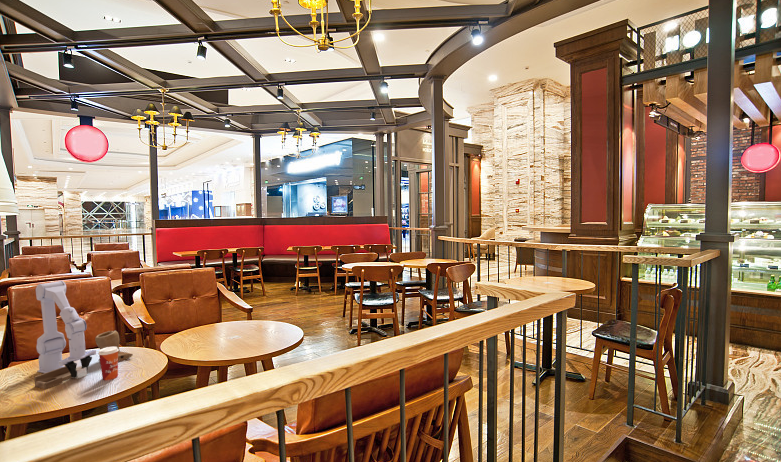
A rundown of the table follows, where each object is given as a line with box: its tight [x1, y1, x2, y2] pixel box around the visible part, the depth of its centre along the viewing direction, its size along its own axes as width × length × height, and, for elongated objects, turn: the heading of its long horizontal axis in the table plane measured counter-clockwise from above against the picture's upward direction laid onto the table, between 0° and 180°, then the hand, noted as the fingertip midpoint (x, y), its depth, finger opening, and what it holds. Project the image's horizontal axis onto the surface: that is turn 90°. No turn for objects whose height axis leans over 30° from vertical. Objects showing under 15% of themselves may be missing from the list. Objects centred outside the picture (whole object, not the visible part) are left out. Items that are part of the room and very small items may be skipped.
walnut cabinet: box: [33, 365, 86, 390], centre depth 176 cm, size 10×15×5 cm
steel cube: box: [71, 365, 88, 380], centre depth 180 cm, size 4×4×4 cm
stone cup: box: [94, 330, 134, 362], centre depth 200 cm, size 15×12×15 cm
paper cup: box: [97, 347, 120, 381], centre depth 178 cm, size 8×8×14 cm
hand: (79, 375), depth 180 cm, fingers closed on steel cube, 4 cm apart
